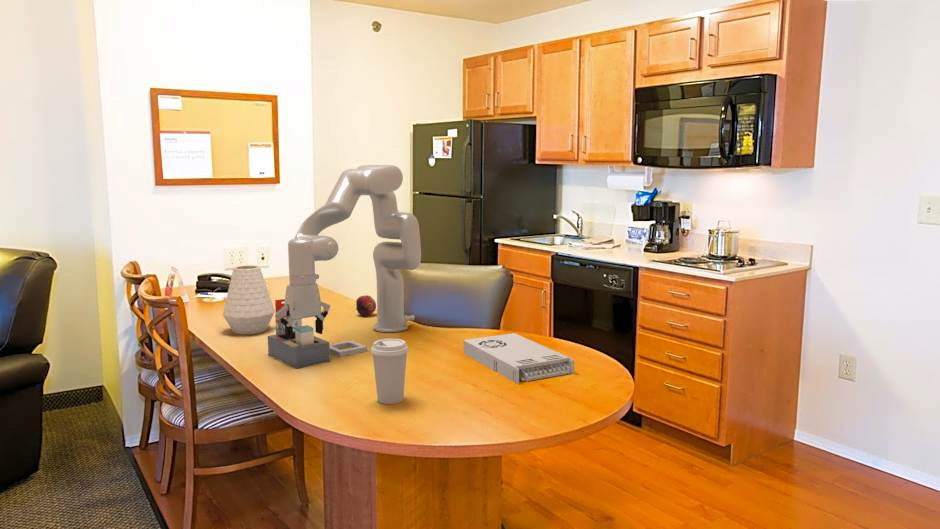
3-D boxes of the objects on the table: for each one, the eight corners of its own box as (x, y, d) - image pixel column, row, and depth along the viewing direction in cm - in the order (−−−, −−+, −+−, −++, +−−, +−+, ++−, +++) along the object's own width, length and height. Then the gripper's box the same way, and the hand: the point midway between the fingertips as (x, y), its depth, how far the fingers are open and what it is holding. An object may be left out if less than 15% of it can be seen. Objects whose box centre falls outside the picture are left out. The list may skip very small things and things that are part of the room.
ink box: (302, 341, 222) (301, 299, 220) (279, 345, 218) (277, 301, 216) (299, 339, 225) (297, 297, 223) (276, 342, 221) (274, 299, 219)
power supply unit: (517, 386, 181) (518, 369, 180) (463, 355, 209) (463, 340, 209) (574, 376, 189) (574, 359, 188) (514, 347, 218) (514, 333, 217)
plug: (308, 353, 203) (307, 325, 202) (314, 356, 200) (313, 327, 199) (296, 356, 201) (295, 327, 199) (302, 359, 198) (301, 329, 196)
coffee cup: (372, 393, 173) (371, 338, 170) (409, 392, 174) (408, 337, 171) (370, 407, 163) (369, 348, 161) (409, 406, 164) (408, 347, 162)
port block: (300, 348, 215) (300, 329, 214) (329, 361, 200) (329, 341, 200) (268, 354, 208) (267, 335, 207) (296, 368, 193) (295, 347, 192)
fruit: (380, 315, 261) (379, 295, 259) (366, 318, 254) (366, 298, 253) (365, 312, 265) (364, 293, 264) (351, 316, 258) (351, 296, 257)
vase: (213, 334, 231) (209, 269, 228) (247, 323, 247) (243, 262, 244) (253, 339, 225) (249, 272, 221) (285, 327, 241) (282, 265, 237)
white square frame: (350, 344, 219) (350, 340, 219) (367, 351, 211) (367, 346, 211) (323, 350, 212) (323, 345, 212) (339, 357, 205) (339, 352, 205)
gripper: (322, 275, 205) (324, 328, 208) (269, 281, 194) (272, 338, 197) (334, 278, 200) (336, 333, 202) (280, 285, 188) (283, 343, 191)
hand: (304, 335), depth 199 cm, fingers open, 9 cm apart
